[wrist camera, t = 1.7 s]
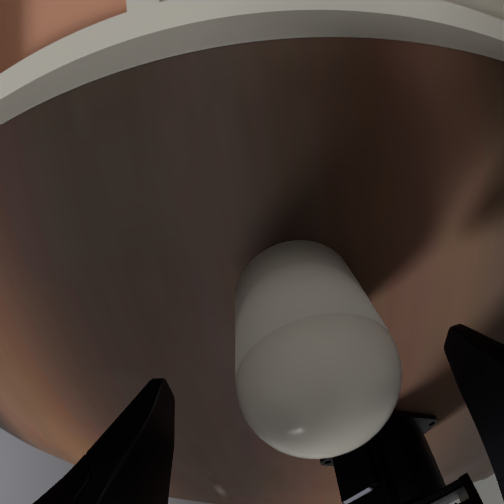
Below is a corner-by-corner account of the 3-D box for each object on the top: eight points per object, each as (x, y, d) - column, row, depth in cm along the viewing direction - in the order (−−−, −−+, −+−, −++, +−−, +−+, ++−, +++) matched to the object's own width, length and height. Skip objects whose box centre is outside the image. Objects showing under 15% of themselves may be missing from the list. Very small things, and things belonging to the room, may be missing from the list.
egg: (373, 269, 12) (461, 396, 6) (312, 351, 13) (348, 485, 7) (270, 219, 11) (311, 360, 5) (216, 318, 12) (206, 472, 6)
